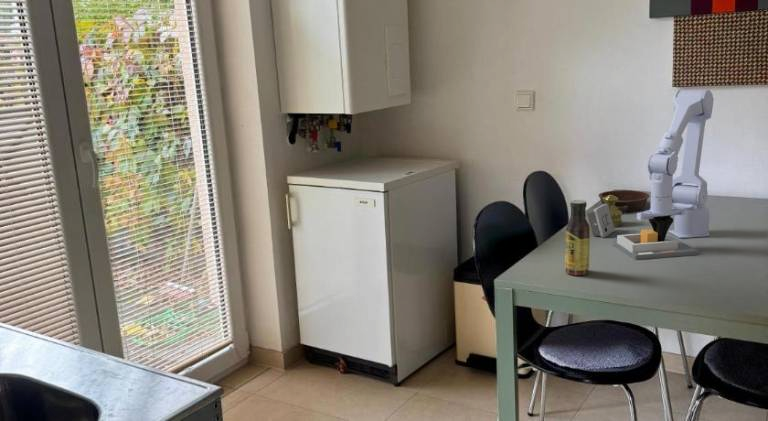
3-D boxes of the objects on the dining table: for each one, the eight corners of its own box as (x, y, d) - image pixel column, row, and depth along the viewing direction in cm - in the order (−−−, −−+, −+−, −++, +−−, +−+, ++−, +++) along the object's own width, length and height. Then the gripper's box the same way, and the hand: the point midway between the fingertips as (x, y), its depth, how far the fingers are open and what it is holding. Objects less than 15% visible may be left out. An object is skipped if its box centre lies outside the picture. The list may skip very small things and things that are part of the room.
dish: (592, 213, 254) (592, 200, 253) (605, 200, 273) (605, 187, 272) (643, 216, 246) (644, 202, 245) (653, 202, 264) (653, 189, 263)
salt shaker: (597, 227, 235) (597, 197, 233) (599, 221, 242) (600, 192, 240) (621, 228, 233) (621, 198, 230) (622, 222, 239) (623, 193, 237)
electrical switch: (603, 238, 222) (601, 209, 220) (587, 238, 225) (585, 209, 224) (615, 231, 229) (612, 203, 228) (599, 231, 232) (597, 203, 231)
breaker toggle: (650, 242, 210) (650, 229, 209) (657, 247, 206) (657, 233, 205) (640, 243, 210) (640, 229, 209) (647, 247, 205) (647, 233, 205)
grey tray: (670, 239, 217) (671, 228, 216) (697, 254, 201) (697, 242, 200) (612, 244, 215) (612, 233, 215) (635, 259, 200) (635, 247, 199)
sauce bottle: (561, 270, 195) (561, 199, 190) (584, 268, 195) (584, 197, 191) (570, 277, 188) (570, 204, 184) (593, 275, 189) (593, 202, 184)
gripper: (674, 190, 210) (672, 235, 213) (630, 195, 207) (629, 241, 210) (690, 194, 204) (688, 240, 207) (645, 200, 200) (644, 247, 203)
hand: (660, 241), depth 208 cm, fingers closed
